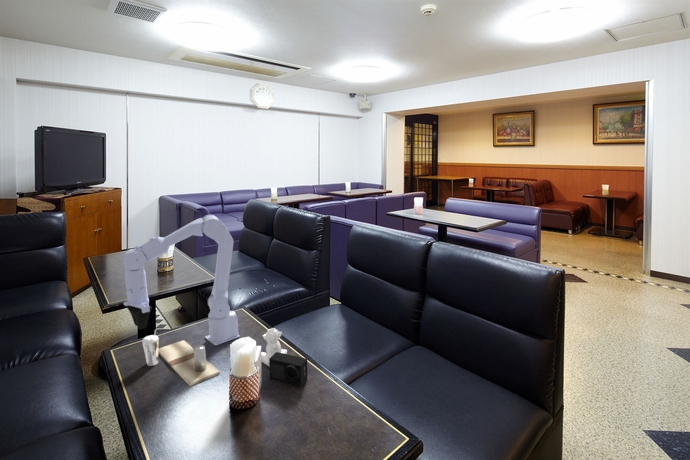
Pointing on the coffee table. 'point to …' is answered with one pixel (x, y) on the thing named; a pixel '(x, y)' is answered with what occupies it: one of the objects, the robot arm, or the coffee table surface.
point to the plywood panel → (186, 362)
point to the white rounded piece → (151, 349)
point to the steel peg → (200, 358)
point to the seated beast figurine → (271, 345)
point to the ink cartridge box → (258, 363)
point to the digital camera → (288, 369)
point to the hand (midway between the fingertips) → (140, 326)
